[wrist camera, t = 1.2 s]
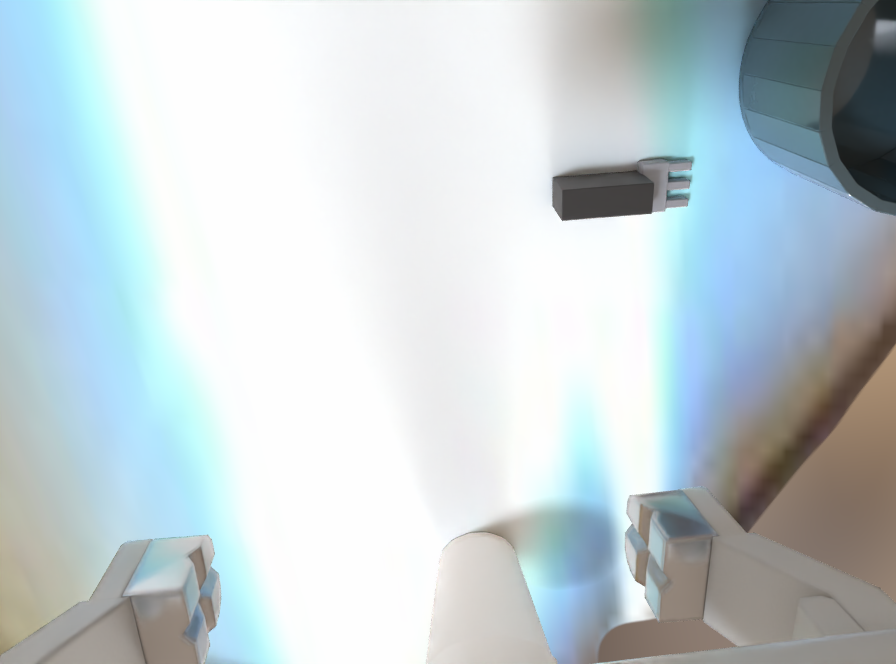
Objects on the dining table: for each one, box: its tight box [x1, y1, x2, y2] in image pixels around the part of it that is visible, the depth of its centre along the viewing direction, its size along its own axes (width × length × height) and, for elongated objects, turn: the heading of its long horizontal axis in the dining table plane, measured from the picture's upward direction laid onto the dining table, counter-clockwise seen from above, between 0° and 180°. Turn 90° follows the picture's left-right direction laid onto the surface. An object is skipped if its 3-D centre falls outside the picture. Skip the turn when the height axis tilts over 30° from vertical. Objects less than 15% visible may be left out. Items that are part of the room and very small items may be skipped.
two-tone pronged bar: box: [553, 159, 692, 221], centre depth 38 cm, size 8×3×3 cm, turn 94°
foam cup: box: [426, 532, 557, 664], centre depth 47 cm, size 10×9×13 cm
